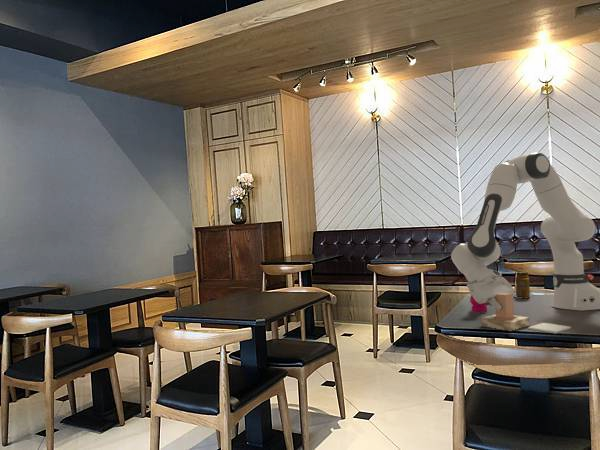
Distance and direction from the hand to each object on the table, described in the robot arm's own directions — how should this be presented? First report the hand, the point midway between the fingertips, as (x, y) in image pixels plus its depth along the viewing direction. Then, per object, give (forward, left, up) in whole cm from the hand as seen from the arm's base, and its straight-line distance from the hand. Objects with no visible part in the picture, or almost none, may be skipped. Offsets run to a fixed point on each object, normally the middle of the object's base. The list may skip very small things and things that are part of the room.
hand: (505, 307), depth 183 cm
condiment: (-27, -57, -7) cm, 63 cm away
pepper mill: (+1, -30, -7) cm, 30 cm away
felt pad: (-13, +6, -7) cm, 16 cm away
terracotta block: (0, -1, -7) cm, 7 cm away
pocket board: (0, -1, -7) cm, 7 cm away
